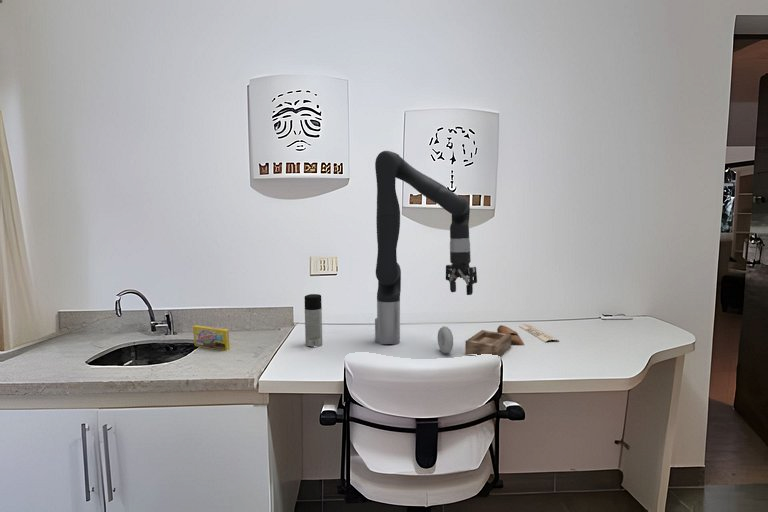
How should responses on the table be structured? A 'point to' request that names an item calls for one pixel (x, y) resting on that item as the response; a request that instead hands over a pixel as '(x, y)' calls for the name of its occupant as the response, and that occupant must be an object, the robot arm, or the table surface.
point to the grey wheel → (445, 339)
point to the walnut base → (488, 343)
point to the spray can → (313, 320)
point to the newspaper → (537, 332)
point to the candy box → (211, 337)
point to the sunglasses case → (514, 335)
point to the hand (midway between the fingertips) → (461, 293)
